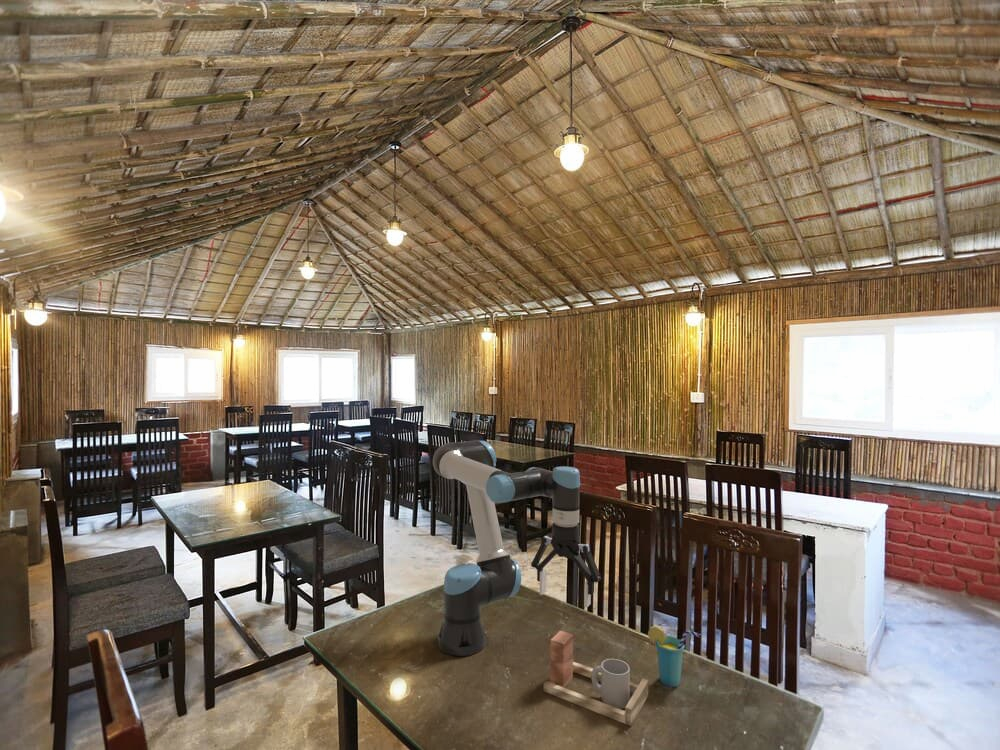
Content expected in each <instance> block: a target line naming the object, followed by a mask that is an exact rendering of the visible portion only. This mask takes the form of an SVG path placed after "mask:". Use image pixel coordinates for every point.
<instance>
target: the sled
mask: <svg viewBox="0 0 1000 750" xmlns="http://www.w3.org/2000/svg"><path fill="white" fill-rule="evenodd" d="M549 669H550V670H549V671H550V675H549V676H550V679H549V681H547V680H545V682H544V683H543V692H544V693H547V694H550V695H552V696H555V697H558V699H559V698H560V699H562V700H564V701H566V702H569V703H572V704H575V705H577V706H580V707H582V708H585V709H587V710H590V711H592V712H595V713H597V714H599V715H602V716H604V717H608V718H610V719H612V720H615V721H616V722H620V723H622V724H625V725H627V726H630V727H632V726H633V724H634V722H635V721H636V719H637V717H638V715H639V713H640V711H641V709H642V708H643V706H644V704H645V702H646V700H647V698H648V697H649V679H646V678H642V679H641V680H640V682H639V684H638V683H636V682H633V681H630V694H632V696H630V699H629V702H628V704H627V706H626V707H625V708H624V709H625V710H623V709H618V708H615V707H613V706H610V705H607V704H605V703H604V702H603V701H599V700H597V699H595V698H591V697H589V696H587V695H584V694H581V693H579V692H576V691H573V690H570V689H568V688H566V686H567V685H568V684H569V683H570V681H572V679H573V678H574V673H576V674H578V675H581V676H583V677H587V678H589V679H591V674H592V670H593V669H594V667H590V666H587V665H585V664H582V663H578V662H575V661H574V634H572V633H570V632H566V631H563V630H559V631H558V632H557V633H556V634H555V635H554V636H553V637H552V638H551V639H550V668H549ZM597 680H598V682H601V673H600V672H599V673H598V676H597Z"/></svg>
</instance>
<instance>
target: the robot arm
mask: <svg viewBox="0 0 1000 750" xmlns="http://www.w3.org/2000/svg"><path fill="white" fill-rule="evenodd" d="M496 463H497V456H496V451H495V450H494V448H493V447H492V445H491V444H490V443H489V442H487V441H485V440H475V439H474V440H468V441H457V442H454V441H453V442H452V441H451V442H448V443H445V444H443V445H441V446H439V447H438V448H437V449H436V451H435V452H434V454H433V457H432V467H433V469H434V471H435V472H436V474H438V475H439V476H441V477H443V478H445V479H447V480H454V479H455V480H456V481H457V480H458V481H459V482H461V483H463V484H464V485H465V487H466V492H467V496H468V502H469V508H470V513H471V519H472V522H473V528H474V534H475V538H476V544H477V548H478V554H479V555H478V558H477V559H476V561H475V562H476V563H471V562H470V563H469V562H468V563H461V564H457V565H454V566H452V567H451V568H449V569H448V570H447V571H446V573H445V575H444V582H443V621H442V624H441V627H440V630H439V633H438V637H437V641H438V642H437V646H438V649H439V650H440V651H441V652H443V653H445V654H447V655H450V656H451V655H452V656H455V657H456V656H457V657H465V656H472V655H474V654H475V655H476V654H477V653H479V652H480V651H482V650H483V649H484V648H485V647H486V644H487V635H486V632H485V629H484V626H483V622H482V618H481V617H482V616H481V609H482V607H483V606H486V605H490V604H493V603H495V602H499V601H502V600H507V599H509V598H510V597H513V596H515V595H516V594H517V593H518V592H519V590H520V587H521V585H522V571H521V568H520V565H519V564H518V561H516V560H515V559H513V558H512V557H511V555H510V553H509V552H508V551H506V550H505V547H504V543H503V538H502V533H501V528H500V524H499V519H498V514H497V509H496V505H495V504H497V503H508V502H511V501H512V502H513V501H517V500H523V499H530V498H534V497H535V498H536V497H539V496H542V497H547V498H550V499H552V505H551V506H552V507H551V508H552V517H551V519H552V524H551V535H552V537H550V536H549V535H544V536H543V537H542V538H541V541H540V546H539V547H538V550H537V551H536V554H535V556H534V558H533V559H532V561H531V563H530V566H531V567H532V568H535V569H536V580H537V582H539V595H540V596H543V595H544V594H546V592H547V568H545V567H546V566H547V565H548V564H549V562H550V561H552V559H553V558H554V557H555V556H557V555H558V557H561V558H562V557H563V558H566V559H571V560H572V561H573V562H574V563H575V565H576V566H577V567H578V569H579V571H580V572H581V574H582V575H583V577H584V578H585V580H586V581H585V582H584V604H583V606H584V608H588V607H589V606H590V605H591V604H592V601H591V599H592V597H591V596H592V595H593V594H594V593H595V583H598V582H600V581H601V579H602V576H601V573H600V571H599V569H598V567H597V564H596V561H595V559H594V557H593V554H592V552H591V545H590V543H586V544H584V543H580V525H579V523H580V494H581V493H580V491H581V479H580V470H579V469H578V468H576V467H573V466H565V465H564V466H556V467H554V468H553V471H552V470H548V469H545V468H542V467H534V466H533V467H529V468H528V469H526V470H525V471H520V472H519V471H518V472H517V471H516V472H508V471H504V470H502V469H499V468H496V466H497V464H496ZM550 544H551V546H552V548H553V549H552V550H551V551H550V552H549V553H548V554H547V556H546V557H545V558H544V559H543V560H542V561H541V559H542V558H543V556H544V553H545V552H546V549H547V547H548V546H549V545H550ZM579 550H580V551H581V553H583V558H584V559H585V561H584V560H583V558H582V556H581V554H580V552H579ZM540 561H541V562H540Z"/></svg>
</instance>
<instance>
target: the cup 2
mask: <svg viewBox="0 0 1000 750" xmlns="http://www.w3.org/2000/svg"><path fill="white" fill-rule="evenodd" d="M688 634H690V635H693V636H695V637H698V638H700V637H701V633H699V632H695V631H693V630H690V629H689V630H688V629H687V630H684V632H683V633H682V636H681V638H680V639H679V638H676V637H673V636H671V635H666V634H665V631H664V630H663V629H661V628H660V627H658V626H650V627H649V630H648V632H647V636H648V639H649V641H650V642H652V643H653V644H654V645H656V648H657V649H656V651H657V658H658V659H657V660H658V661H657V662H658V673H659V680H660V682H661V683H662V684H663V685H665V686H667V687H669V688H670V687H671V688H672V687H678V686H679V685H680V684H681V678H682V669H683V668H682V666H683V658H684V657H683V656H684V650H685V647H686V646H685V644H684V642H685V640H686V638H687V635H688Z"/></svg>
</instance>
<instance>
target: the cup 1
mask: <svg viewBox="0 0 1000 750" xmlns="http://www.w3.org/2000/svg"><path fill="white" fill-rule="evenodd" d="M599 672H600V673H601V684H599V681H598V680H597V676H598V673H599ZM630 672H631V669H630V665H629V664H628V663H627V662H625V661H624V660H621V659H619V658H618V659H617V658H608V659H607V658H606V659H604V660H603V661H602V662H601V665H596V666H594V667H593V670H592V674H591V678H590V679H591V684H592V687H593V688H594V689H595V691H597V693H600V694H601V695H600V696H601V702H602V703H605V704H607V705H610V706H613V707H615V708H618V709H620V710H623V709H625V707H626V706H627V704H628V702H629V700H630V699H631V696H630V694H631V693H630V682H631V679H630V677H631V676H630V674H631V673H630Z"/></svg>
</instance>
